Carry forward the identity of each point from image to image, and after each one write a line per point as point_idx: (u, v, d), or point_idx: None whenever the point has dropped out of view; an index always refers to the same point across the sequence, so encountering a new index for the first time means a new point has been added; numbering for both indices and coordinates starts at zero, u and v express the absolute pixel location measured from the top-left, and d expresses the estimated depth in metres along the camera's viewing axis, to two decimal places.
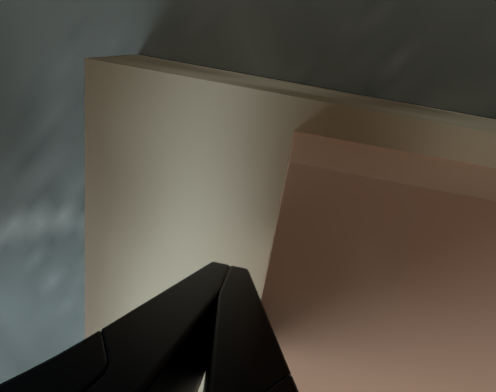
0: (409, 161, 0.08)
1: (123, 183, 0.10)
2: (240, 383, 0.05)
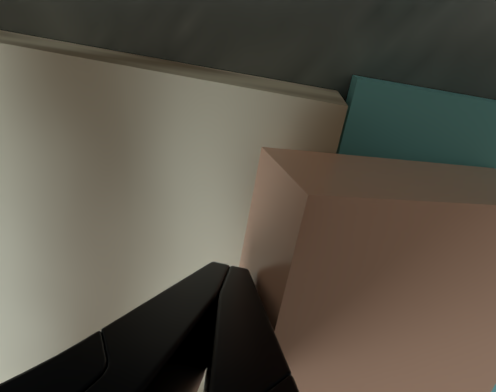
0: (379, 168, 0.08)
1: None
2: (240, 383, 0.05)
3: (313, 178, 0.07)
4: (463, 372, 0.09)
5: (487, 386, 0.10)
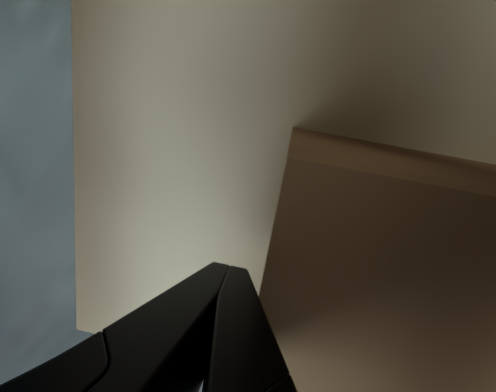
0: None
1: None
2: (239, 383, 0.05)
3: None
4: None
5: None
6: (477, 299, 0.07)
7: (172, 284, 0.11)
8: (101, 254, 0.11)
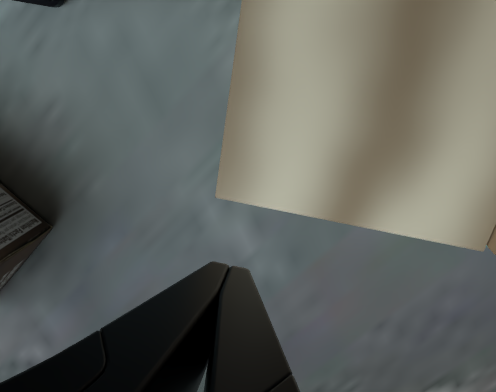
0: None
1: None
2: (241, 384, 0.05)
3: None
4: None
5: None
6: None
7: (286, 159, 0.17)
8: (240, 140, 0.17)
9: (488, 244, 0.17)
